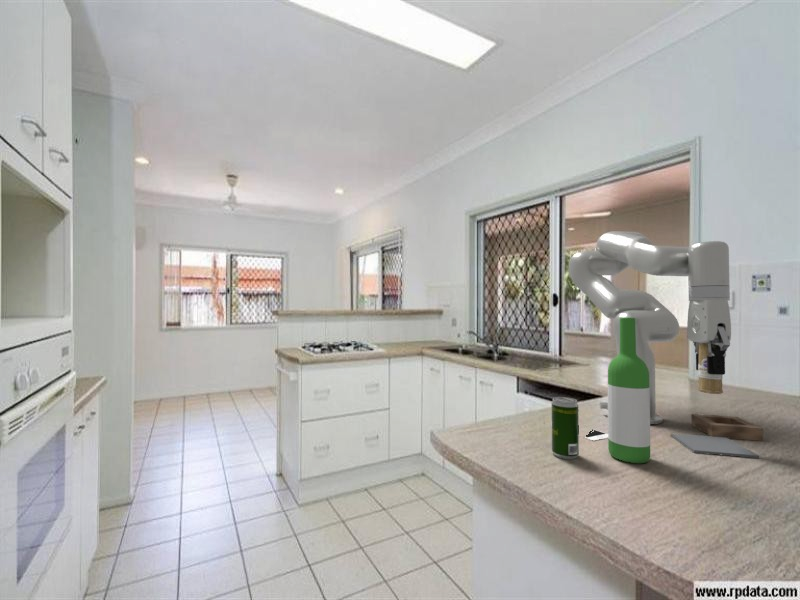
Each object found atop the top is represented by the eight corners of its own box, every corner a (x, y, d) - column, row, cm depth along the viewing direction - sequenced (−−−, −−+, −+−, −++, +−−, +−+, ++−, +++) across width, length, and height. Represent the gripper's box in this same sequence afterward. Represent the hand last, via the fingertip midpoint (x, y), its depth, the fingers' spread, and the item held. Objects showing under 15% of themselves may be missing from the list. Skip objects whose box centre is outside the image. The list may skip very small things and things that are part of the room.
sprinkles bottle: (697, 392, 89) (697, 334, 89) (698, 389, 92) (697, 334, 92) (723, 395, 86) (722, 335, 86) (723, 392, 89) (722, 334, 90)
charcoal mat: (694, 452, 84) (694, 450, 84) (670, 435, 96) (670, 433, 96) (759, 458, 81) (759, 455, 81) (726, 440, 93) (726, 437, 93)
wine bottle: (611, 461, 79) (609, 317, 80) (605, 449, 86) (604, 317, 87) (654, 467, 76) (653, 318, 77) (645, 454, 84) (644, 317, 84)
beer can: (584, 457, 81) (583, 401, 82) (566, 461, 79) (566, 403, 79) (563, 449, 86) (563, 395, 87) (546, 452, 84) (546, 398, 84)
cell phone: (593, 443, 92) (593, 440, 92) (542, 424, 106) (542, 422, 106) (615, 438, 95) (615, 436, 95) (562, 421, 109) (563, 419, 109)
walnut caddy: (712, 436, 95) (711, 424, 95) (691, 424, 105) (691, 413, 105) (762, 440, 93) (762, 428, 93) (736, 427, 103) (736, 416, 103)
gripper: (674, 296, 99) (675, 366, 98) (709, 293, 82) (710, 377, 82) (708, 295, 97) (709, 368, 96) (750, 292, 80) (752, 379, 80)
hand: (710, 371), depth 89 cm, fingers closed on sprinkles bottle, 4 cm apart
